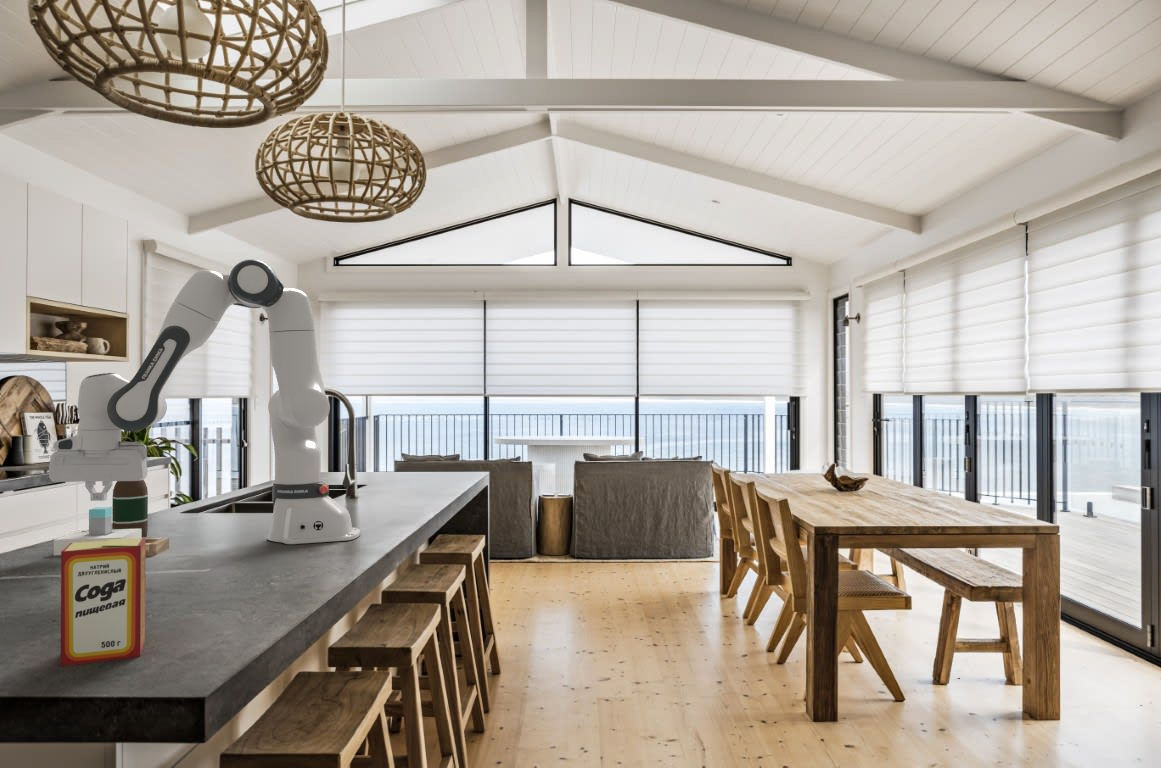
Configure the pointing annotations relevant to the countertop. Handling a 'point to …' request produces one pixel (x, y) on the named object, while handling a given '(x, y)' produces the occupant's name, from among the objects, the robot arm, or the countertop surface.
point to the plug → (100, 521)
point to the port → (93, 537)
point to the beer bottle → (130, 506)
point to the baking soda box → (102, 600)
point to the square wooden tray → (156, 545)
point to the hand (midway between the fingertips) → (98, 500)
